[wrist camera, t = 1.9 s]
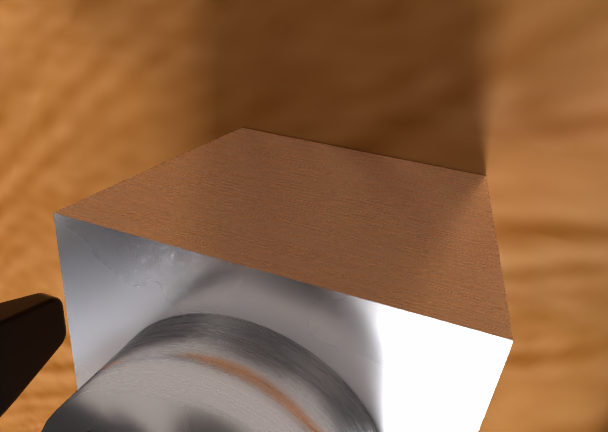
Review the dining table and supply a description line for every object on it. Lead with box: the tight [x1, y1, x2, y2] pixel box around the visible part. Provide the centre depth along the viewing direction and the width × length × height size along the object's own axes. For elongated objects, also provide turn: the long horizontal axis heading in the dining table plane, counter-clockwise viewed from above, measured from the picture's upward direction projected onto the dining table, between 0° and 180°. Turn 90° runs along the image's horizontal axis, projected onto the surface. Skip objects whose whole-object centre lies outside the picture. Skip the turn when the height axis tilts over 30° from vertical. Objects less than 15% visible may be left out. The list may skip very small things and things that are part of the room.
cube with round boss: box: [42, 128, 513, 432], centre depth 9 cm, size 6×6×8 cm
